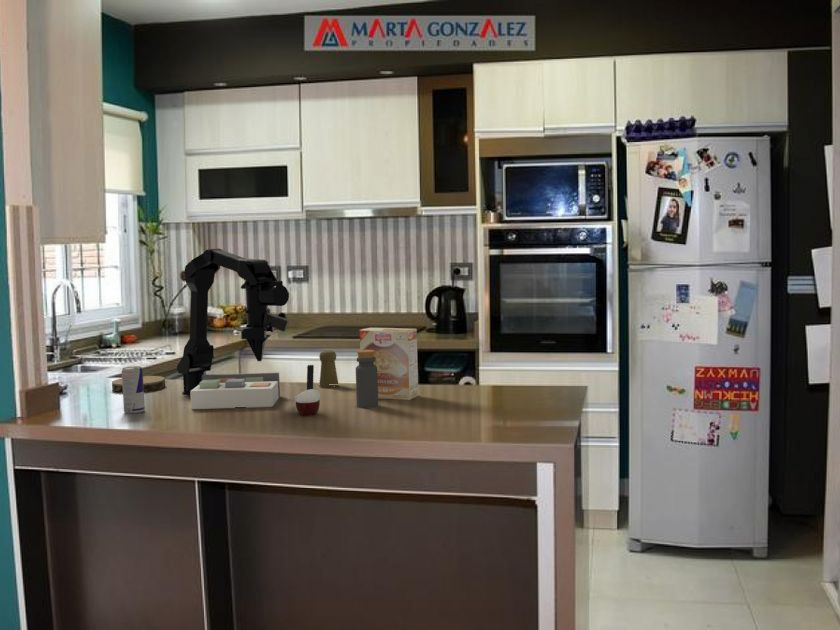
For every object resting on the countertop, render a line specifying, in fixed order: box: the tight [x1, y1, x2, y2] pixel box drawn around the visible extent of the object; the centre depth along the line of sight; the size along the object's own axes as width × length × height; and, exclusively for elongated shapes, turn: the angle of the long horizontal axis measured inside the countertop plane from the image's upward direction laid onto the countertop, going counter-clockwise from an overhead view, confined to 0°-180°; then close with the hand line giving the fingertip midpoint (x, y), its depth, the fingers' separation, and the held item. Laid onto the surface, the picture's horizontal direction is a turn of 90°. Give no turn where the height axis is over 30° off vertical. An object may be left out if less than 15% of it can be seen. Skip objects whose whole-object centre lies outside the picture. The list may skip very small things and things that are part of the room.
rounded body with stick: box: [294, 364, 321, 417], centre depth 216 cm, size 10×6×12 cm, turn 153°
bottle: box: [355, 349, 379, 409], centre depth 224 cm, size 6×6×15 cm
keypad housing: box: [190, 372, 281, 410], centre depth 234 cm, size 22×15×7 cm
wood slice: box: [111, 375, 166, 394], centre depth 262 cm, size 16×16×3 cm
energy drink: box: [121, 365, 146, 415], centre depth 225 cm, size 5×5×12 cm
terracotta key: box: [251, 383, 270, 387], centre depth 233 cm, size 5×5×4 cm
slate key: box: [225, 379, 245, 388], centre depth 233 cm, size 5×5×4 cm
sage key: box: [200, 379, 220, 389], centre depth 232 cm, size 5×5×4 cm
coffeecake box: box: [359, 327, 419, 401], centre depth 236 cm, size 15×7×20 cm, turn 68°
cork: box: [318, 349, 339, 389], centre depth 257 cm, size 6×6×11 cm
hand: (259, 361), depth 232 cm, fingers closed
